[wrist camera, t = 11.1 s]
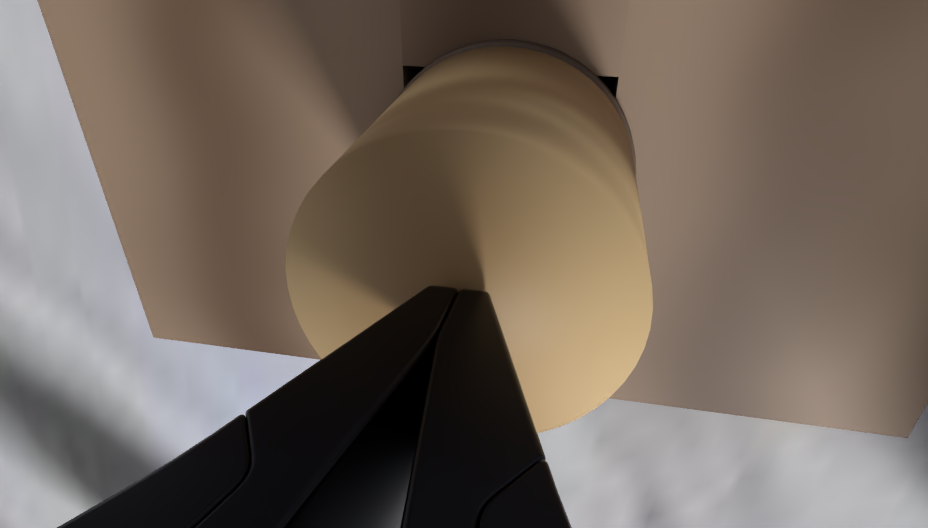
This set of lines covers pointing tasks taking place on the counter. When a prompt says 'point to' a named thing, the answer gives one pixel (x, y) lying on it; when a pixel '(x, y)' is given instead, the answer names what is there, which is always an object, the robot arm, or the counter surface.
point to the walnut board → (657, 172)
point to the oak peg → (490, 220)
